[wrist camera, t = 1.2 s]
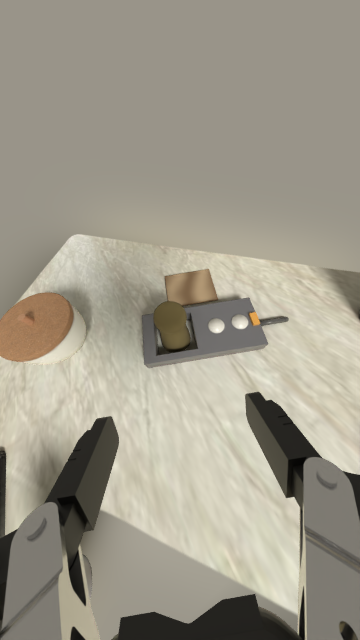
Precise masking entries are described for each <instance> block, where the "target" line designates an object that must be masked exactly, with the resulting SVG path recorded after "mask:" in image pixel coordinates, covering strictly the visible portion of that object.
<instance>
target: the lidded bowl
mask: <svg viewBox="0 0 360 640" xmlns="http://www.w3.org/2000/svg"><path fill="white" fill-rule="evenodd" d="M85 337H86V325H85V322H84V319H83V317H82V316H81V314H80V313H79V312H78V311H77V309H76V308H74V307H73V306H72V305H71V304H70V303H69V301H67V300H66V299H65V298H64V297H63V296H61V295H59V294H56V293H39V294H35V295H32V296H29V297H27V298H25V299H23V300H22V301H20V302H18V303H17V304H16V305H14V306H13V307H12V308H11V309H10V310H8V311H7V313H6V314H5V315H4V316H3V317H2V319H1V320H0V356H1V357H3V358H5V359H8V360H12V361H16V362H24V363H28V364H36V365H48V364H54V363H58V362H61V361H63V360H66V359H68V358H69V357H71V356H72V355H74V354H75V353H76V352H77V351H78V350H79V349H80V348H81V347H82V345H83V343H84V340H85Z"/></svg>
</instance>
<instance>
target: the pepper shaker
mask: <svg viewBox="0 0 360 640" xmlns="http://www.w3.org/2000/svg"><path fill="white" fill-rule="evenodd" d="M153 319H154V323H155V325H156V327H157V328H158V329H159V330H160V333H161V340H162V344H163V347H164V348H165V349H166V350H167V351H169V352H171V353H176V352H182V351H184V350H185V349H186V348H187V347H188V346H189V344H190V341H191V337H190V333H189V331H188V328H187V326H186V320H187V315H186V311H185V309H184V308H183V306H182V305H180V304H179V303H177V302H174V301H167V302H164V303H161V304H160V305H159V306H158V307H157V308H156V310H155V311H154V315H153Z"/></svg>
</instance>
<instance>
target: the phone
mask: <svg viewBox="0 0 360 640" xmlns="http://www.w3.org/2000/svg"><path fill="white" fill-rule="evenodd" d="M5 491H6V453H5V452H4V451H0V538H2V537H4V536H5Z"/></svg>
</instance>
